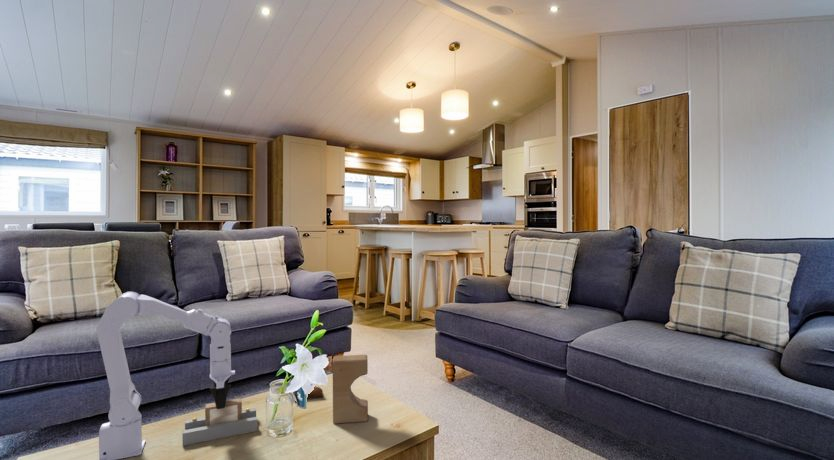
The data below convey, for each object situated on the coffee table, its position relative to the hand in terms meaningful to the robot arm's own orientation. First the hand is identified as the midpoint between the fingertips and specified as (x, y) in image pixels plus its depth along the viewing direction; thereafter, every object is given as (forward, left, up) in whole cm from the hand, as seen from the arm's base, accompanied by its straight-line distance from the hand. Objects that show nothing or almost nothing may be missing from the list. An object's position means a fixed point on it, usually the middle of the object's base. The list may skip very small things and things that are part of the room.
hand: (221, 403), depth 125 cm
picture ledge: (0, 0, -9) cm, 9 cm away
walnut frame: (+1, 0, -7) cm, 7 cm away
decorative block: (+38, -9, -9) cm, 40 cm away
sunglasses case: (+25, +16, -9) cm, 31 cm away
